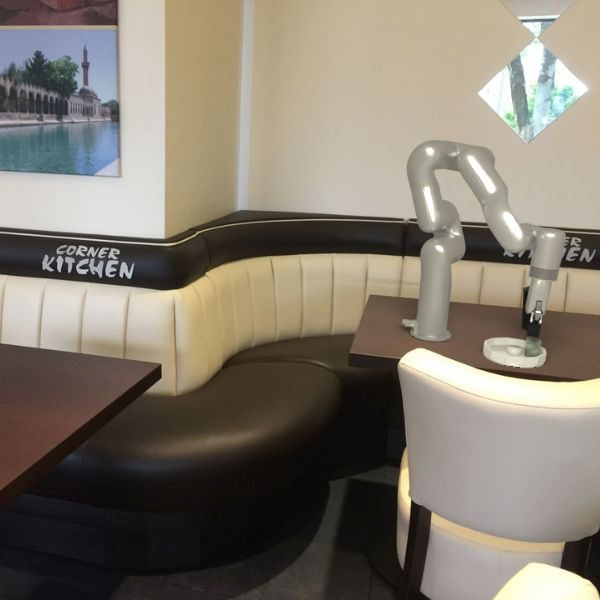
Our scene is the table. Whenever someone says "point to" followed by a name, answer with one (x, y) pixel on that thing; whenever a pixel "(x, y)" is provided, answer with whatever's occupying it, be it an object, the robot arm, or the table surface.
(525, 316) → the drinking cup
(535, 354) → the bead
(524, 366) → the ring tray
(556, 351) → the table surface
